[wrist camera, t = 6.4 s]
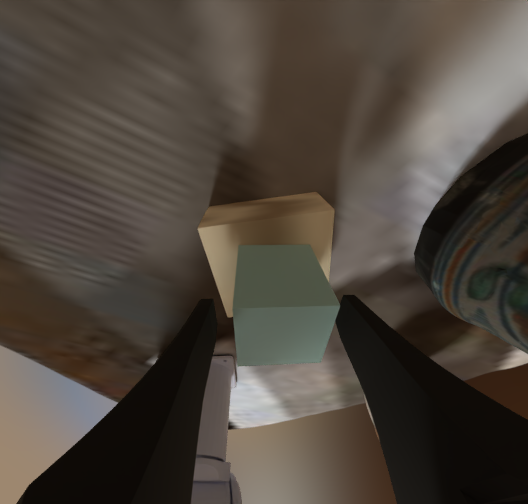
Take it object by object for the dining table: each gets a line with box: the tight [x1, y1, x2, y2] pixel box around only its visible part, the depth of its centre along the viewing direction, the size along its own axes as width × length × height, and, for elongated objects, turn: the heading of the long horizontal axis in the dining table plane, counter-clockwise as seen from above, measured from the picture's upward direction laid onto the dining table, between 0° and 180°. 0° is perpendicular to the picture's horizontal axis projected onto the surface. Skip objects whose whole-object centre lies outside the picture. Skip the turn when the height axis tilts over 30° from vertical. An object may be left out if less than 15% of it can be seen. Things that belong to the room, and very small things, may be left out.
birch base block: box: [197, 192, 335, 317], centre depth 15 cm, size 8×8×4 cm
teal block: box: [232, 245, 340, 366], centre depth 11 cm, size 4×4×5 cm
